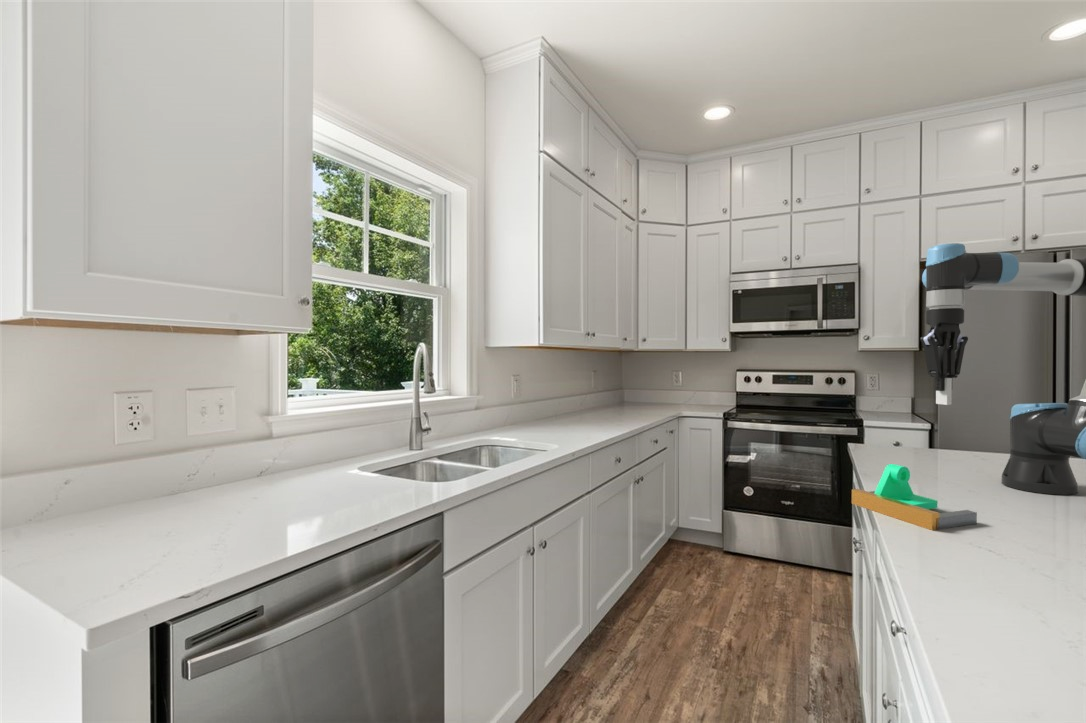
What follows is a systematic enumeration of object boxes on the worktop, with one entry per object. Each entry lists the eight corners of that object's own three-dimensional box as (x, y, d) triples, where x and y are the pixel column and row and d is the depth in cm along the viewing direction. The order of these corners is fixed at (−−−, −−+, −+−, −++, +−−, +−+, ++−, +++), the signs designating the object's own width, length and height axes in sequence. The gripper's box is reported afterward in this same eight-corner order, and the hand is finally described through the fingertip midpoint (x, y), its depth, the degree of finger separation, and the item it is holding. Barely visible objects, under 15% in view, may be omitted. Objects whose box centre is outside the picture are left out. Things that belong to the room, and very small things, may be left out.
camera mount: (903, 517, 120) (903, 472, 120) (872, 508, 127) (872, 465, 127) (939, 512, 124) (940, 468, 124) (907, 503, 132) (907, 461, 131)
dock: (892, 499, 134) (892, 485, 134) (976, 523, 115) (976, 507, 115) (851, 503, 131) (851, 489, 131) (932, 530, 112) (932, 513, 111)
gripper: (948, 309, 135) (947, 401, 136) (910, 309, 132) (909, 403, 132) (980, 307, 128) (979, 404, 129) (940, 306, 125) (939, 406, 125)
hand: (943, 404), depth 131 cm, fingers closed
